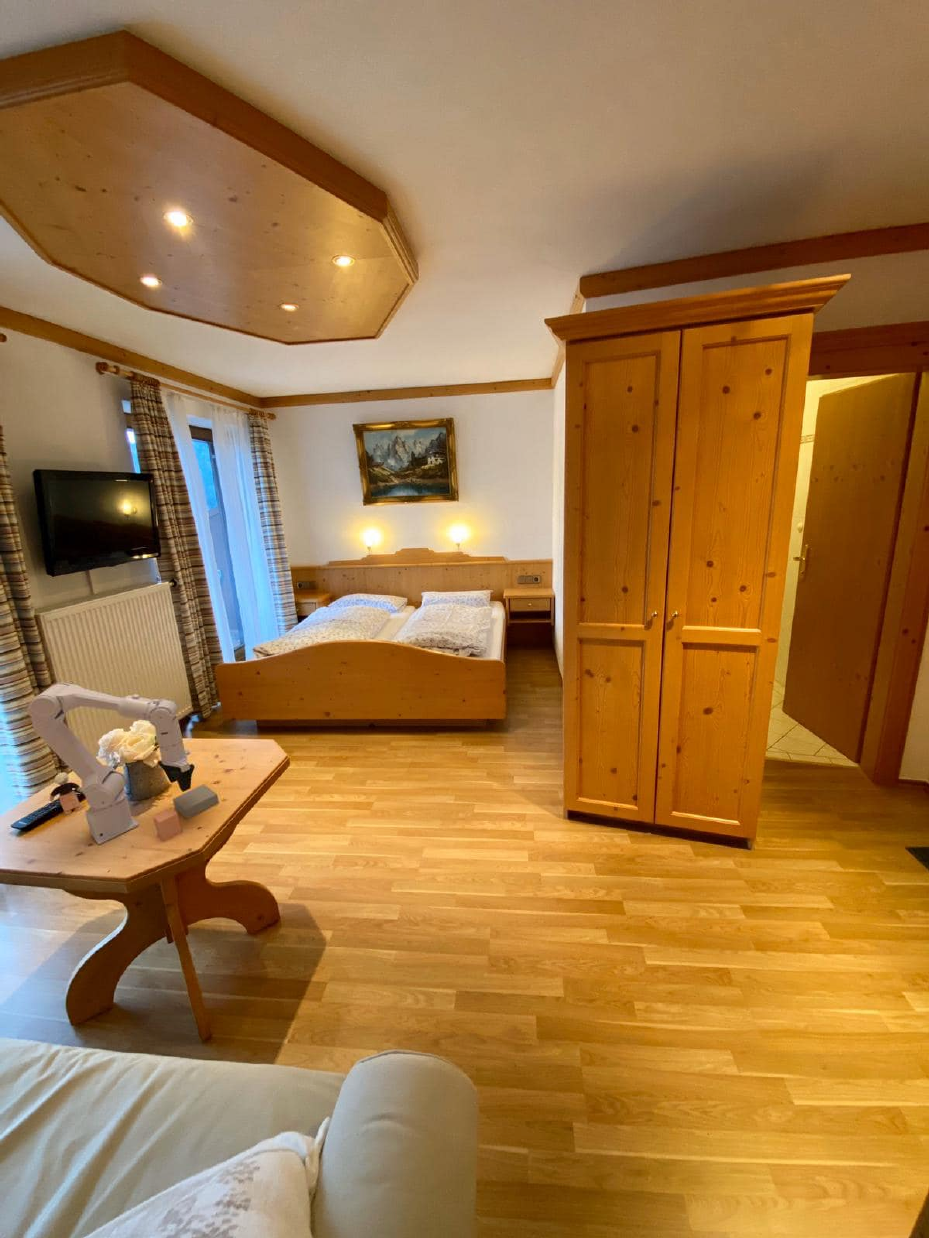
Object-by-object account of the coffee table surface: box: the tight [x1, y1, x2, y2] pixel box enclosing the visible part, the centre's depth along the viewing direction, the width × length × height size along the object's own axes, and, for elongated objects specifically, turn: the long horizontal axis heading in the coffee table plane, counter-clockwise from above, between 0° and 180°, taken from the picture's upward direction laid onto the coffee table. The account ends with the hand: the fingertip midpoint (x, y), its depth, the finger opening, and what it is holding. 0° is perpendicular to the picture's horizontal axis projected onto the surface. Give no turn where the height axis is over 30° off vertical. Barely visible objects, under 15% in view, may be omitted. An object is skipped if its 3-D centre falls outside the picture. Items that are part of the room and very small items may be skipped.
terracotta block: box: [152, 807, 182, 842], centre depth 129 cm, size 4×4×6 cm
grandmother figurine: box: [49, 771, 84, 815], centre depth 141 cm, size 8×4×13 cm, turn 141°
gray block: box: [172, 783, 220, 820], centre depth 142 cm, size 9×9×3 cm
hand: (180, 785), depth 136 cm, fingers open, 7 cm apart
